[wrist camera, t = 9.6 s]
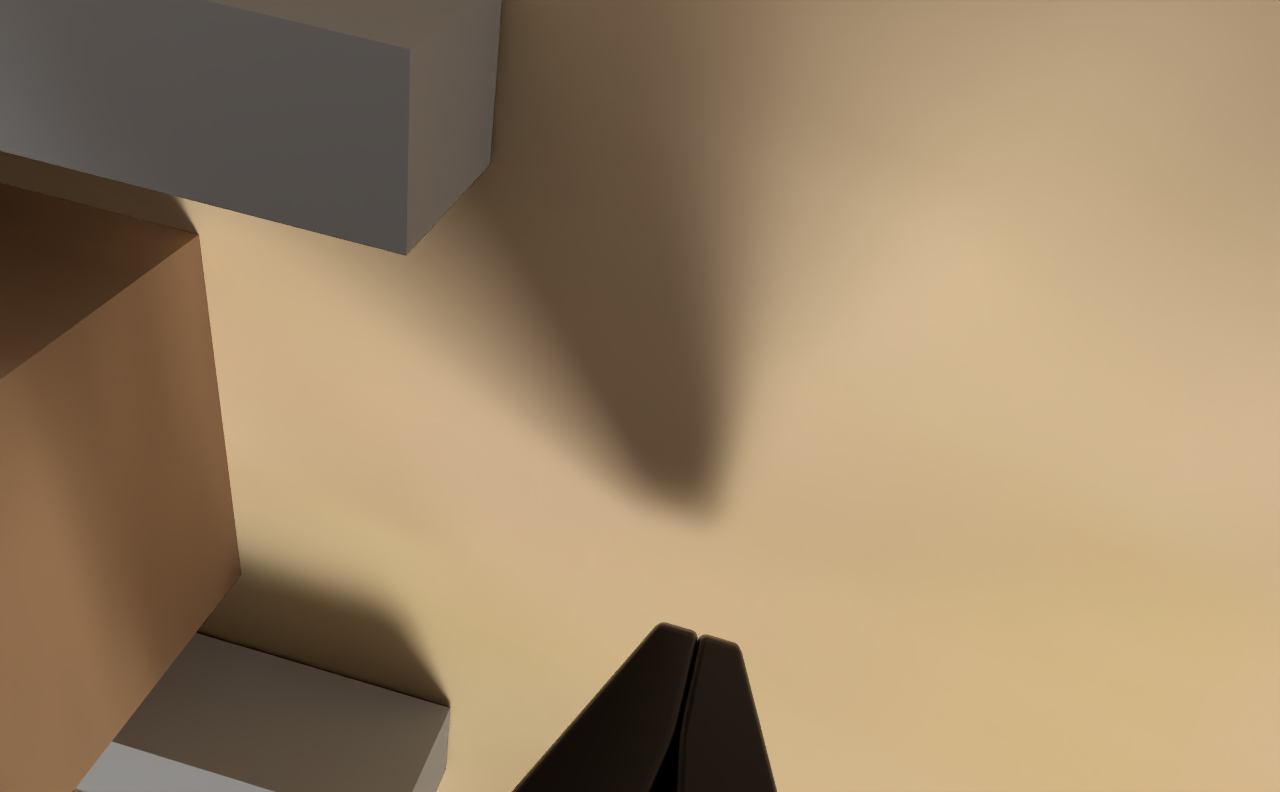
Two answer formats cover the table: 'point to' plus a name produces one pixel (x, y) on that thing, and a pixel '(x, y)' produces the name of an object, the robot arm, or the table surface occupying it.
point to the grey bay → (285, 193)
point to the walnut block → (101, 477)
